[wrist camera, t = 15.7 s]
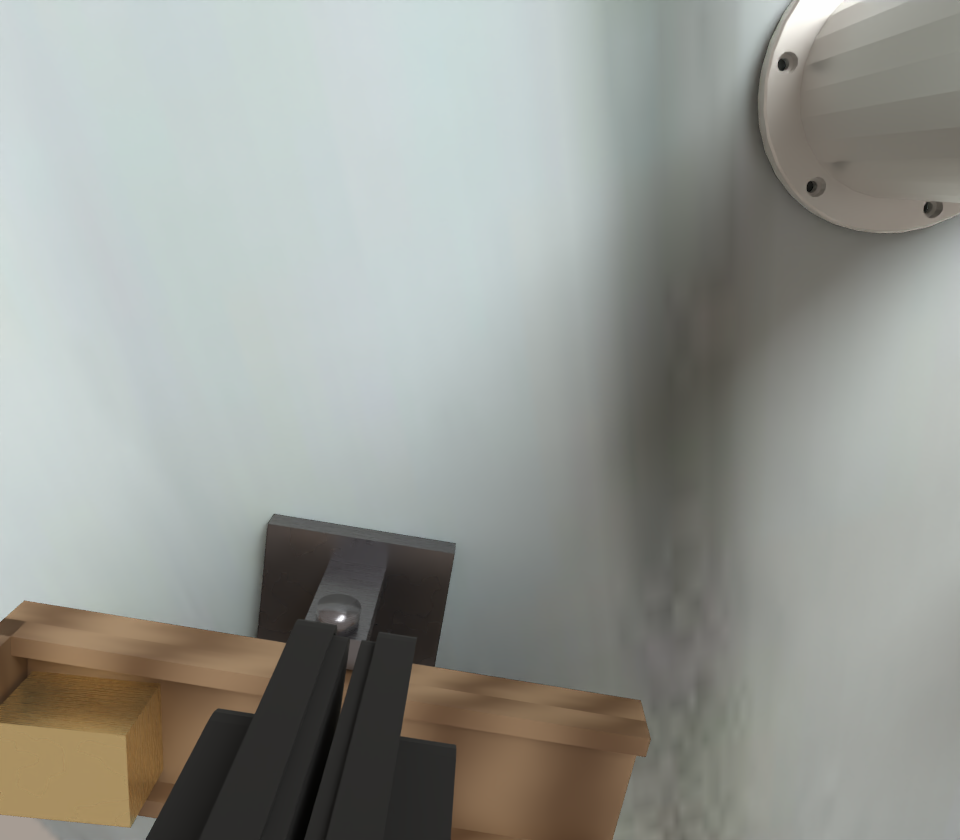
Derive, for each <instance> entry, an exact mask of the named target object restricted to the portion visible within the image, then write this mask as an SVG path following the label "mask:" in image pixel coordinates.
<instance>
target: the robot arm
mask: <svg viewBox="0 0 960 840" xmlns="http://www.w3.org/2000/svg"><path fill="white" fill-rule="evenodd" d="M780 59H782V60H784V61H785V63H786V67H785V69H784V70H783V71H780V70H779V69H778V61H779V60H780ZM758 117H759V129H760V133H761V137H762V141H763V145H764V149H765V153H766V155H767V157H768V159H769V161H770V164H771V166H772V168H773V170H774V172H775V174H776V176H777V178H778V179H779V180H780V182H781V183H782V184H783V185H784V187H785V188H786V189H787V191H788V192H789V193H790V195H791V196H792V197H793V198H794V199H796V200H797V201H798V202H799V203H800V204H801V205H803V206H804V207H805V208H806V209H807V210H808V211H810V212H811V213H813V214H815V215H817V216H819V217H820V218H822V219H824V220H826V221H828V222H830V223H832V224H835V225H838V226H842V227H845V228H849V229H852V230H856V231H865V232H871V233H903V232H908V231H912V230H917V229H922V228H927V227H930V226H933V225H935V224H938V223H940V222H943V221H945V220H948V219H950V218H952V217H955V216H957V215H958V214H960V0H793V1H792V2H791V4H790V5H789V6H788V8H787V9H786V11H785V12H784V14H783V16H782V18H781V20H780V22H779V24H778V26H777V28H776V30H775V32H774V34H773V36H772V38H771V40H770V42H769V46H768V49H767V52H766V56H765V59H764V62H763V65H762V69H761V75H760V83H759V91H758ZM809 181H811V182H812V183H813V184H814V186H813V189H812V191H810V192H807V191H806V188H807V184H808V182H809ZM926 203H927V205H928V206H927V210H926V211H925V212H923V209H924V205H925V204H926ZM416 640H417V637H410V636H404V635H398V634H391V633H385V632H379V633H378V636H377V640H376V642H373V641H367V640H362V641H361V644H360V647H359V650H358V654H357V657H356V661H355V664H354V668H353V671H352V675H351V678H350V682H349V685H348V689H347V692H346V696H345V699H344V703H343V706H342V710H341V705H342V697H343V690H344V683H345V675H346V668H347V661H348V653H349V646H350V638H348V637H341V636H337V625H334V624H328V623H322V622H315V621H309V620H303V619H298V620H297V621H296V623H295V625H294V627H293V629H292V631H291V634H290V636H289V638H288V640H287V643H286V645H285V647H284V649H283V652H282V654H281V656H280V658H279V661H278V663H277V665H276V667H275V669H274V672H273V674H272V676H271V678H270V681H269V683H268V685H267V687H266V690H265V692H264V694H263V696H262V699H261V701H260V703H259V705H258V708H257V710H256V712H255V714H253V713H246V712H240V711H233V710H227V709H220V708H218V709H216V710H215V711H214V712H213V714H212V715H211V717H210V718H209V720H208V722H207V724H206V726H205V727H204V729H203V731H202V733H201V735H200V737H199V739H198V741H197V743H196V745H195V747H194V748H193V750H192V752H191V754H190V756H189V758H188V760H187V762H186V764H185V766H184V768H183V769H182V771H181V773H180V775H179V777H178V779H177V781H176V783H175V785H174V787H173V789H172V790H171V792H170V794H169V796H168V798H167V800H166V802H165V804H164V806H163V808H162V810H161V811H160V813H159V815H158V817H157V819H156V821H155V823H154V825H153V827H152V829H151V831H150V832H149V834H148V836H147V838H146V840H451V827H452V812H453V797H454V782H455V768H456V745H455V744H448V743H442V742H435V741H429V740H422V739H416V738H409V737H403V736H400V735H401V730H402V724H403V718H404V712H405V706H406V700H407V694H408V688H409V682H410V676H411V670H412V664H413V658H414V652H415V646H416ZM340 712H341V713H340Z"/></svg>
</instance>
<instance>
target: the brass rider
mask: <svg viewBox="0 0 960 840" xmlns="http://www.w3.org/2000/svg"><path fill="white" fill-rule="evenodd" d="M162 771H163V745H162V716H161V688H160V684H158V683H148V682H138V681H128V680H118V679H108V678H98V677H88V676H78V675H68V674H58V673H49V672H39V671H32V673H31V674H30V675H29V676H28V677H27V678H26V679H25V680H24V681H23V682H22V683H21V684H20V685H19V686H18V687H17V688H16V690H15V691H14V692H13V693H12V694H11V695H10V696H9V697H8V698H7V699H6V700H5V701H4V702H3V703H2V704H1V705H0V815H11V816H20V817H30V818H40V819H50V820H60V821H70V822H80V823H90V824H100V825H110V826H120V827H130V828H131V826H132V824H133V822H134V820H135V819H136V817H137V815H138V813H139V812H140V810H141V808H142V806H143V805H144V803H145V801H146V799H147V798H148V796H149V794H150V792H151V791H152V789H153V787H154V785H155V784H156V782H157V780H158V778H159V776H160V775H161V773H162Z"/></svg>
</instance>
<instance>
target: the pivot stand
mask: <svg viewBox="0 0 960 840" xmlns="http://www.w3.org/2000/svg"><path fill="white" fill-rule="evenodd" d="M455 545H456V543H449V542H443V541H437V540H431V539H425V538H419V537H412V536H406V535H400V534H394V533H388V532H382V531H375V530H369V529H363V528H357V527H351V526H345V525H338V524H332V523H326V522H320V521H314V520H308V519H302V518H295V517H289V516H283V515H277V514H274V515H273V517H272V518H271V520H270V521H269V523H268V528H267V539H266V549H265V560H264V571H263V582H262V592H261V603H260V614H259V625H258V635H257V638H258V639H264V640H270V641H277V642H283V643H287V640H288V638H289V636H290V634H291V631H292V629H293V627H294V625H295V623H296V621H297V620H298V619H303V620H309V621H315V622H322V623H328V624H334V625H337V636H341V637H348V638H350V646H349V653H348V661H347V668H346V669H349V670H353V668H354V664H355V661H356V657H357V654H358V650H359V647H360V644H361V641H362V640H367V641H373V642H376V640H377V636H378V633H379V632H385V633H391V634H398V635H404V636H410V637H417V640H416V646H415V652H414V658H413V664H419V665H425V666H431V667H435V661H436V655H437V650H438V644H439V639H440V633H441V627H442V622H443V616H444V611H445V605H446V599H447V594H448V588H449V582H450V577H451V571H452V566H453V560H454V554H455Z"/></svg>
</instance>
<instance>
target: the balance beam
mask: <svg viewBox="0 0 960 840" xmlns="http://www.w3.org/2000/svg"><path fill="white" fill-rule="evenodd" d="M285 645H286V643H283V642H277V641H270V640H264V639H258V638H252V637H246V636H240V635H233V634H227V633H221V632H215V631H209V630H202V629H196V628H190V627H184V626H178V625H172V624H165V623H159V622H153V621H147V620H141V619H135V618H128V617H122V616H116V615H110V614H104V613H97V612H91V611H85V610H79V609H73V608H67V607H60V606H54V605H48V604H42V603H36V602H30V601H23V602H22V603H21V604H20V605H19V606H18V607H17V608H15V609H14V610H13V611H12V612H11V613H10V614H9V615H8V616H7V617H5V618H4V619H3V620H2V621H1V622H0V705H1V704H2V703H3V702H4V701H5V700H6V699H7V698H8V697H9V696H10V695H11V694H12V693H13V692H14V691H15V690H16V688H17V687H18V686H19V685H20V684H21V683H22V682H23V681H24V680H25V679H26V678H27V677H28V676H29V675H30V674H31V673H32V671H39V672H49V673H58V674H68V675H78V676H88V677H98V678H108V679H118V680H128V681H138V682H148V683H158V684H160V688H161V716H162V745H163V771H162V773H161V775H160V776H159V778H158V780H157V782H156V784H155V785H154V787H153V789H152V791H151V792H150V794H149V796H148V798H147V799H146V801H145V803H144V805H143V806H142V808H141V810H140V812H139V813H138V815H139V816H145V817H152V818H157V817H158V815H159V813H160V811H161V810H162V808H163V806H164V804H165V802H166V800H167V798H168V796H169V794H170V792H171V790H172V789H173V787H174V785H175V783H176V781H177V779H178V777H179V775H180V773H181V771H182V769H183V768H184V766H185V764H186V762H187V760H188V758H189V756H190V754H191V752H192V750H193V748H194V747H195V745H196V743H197V741H198V739H199V737H200V735H201V733H202V731H203V729H204V727H205V726H206V724H207V722H208V720H209V718H210V717H211V715H212V714H213V712H214V711H215V710H216V709H218V708H220V709H227V710H233V711H240V712H246V713H253V714H255V712H256V710H257V708H258V705H259V703H260V701H261V699H262V696H263V694H264V692H265V690H266V687H267V685H268V683H269V681H270V678H271V676H272V674H273V672H274V669H275V667H276V665H277V663H278V661H279V658H280V656H281V654H282V652H283V649H284V647H285ZM352 671H353V670H349V669H346V675H345V683H344V690H343V697H342V705H341V710H342V706H343V703H344V699H345V696H346V692H347V689H348V685H349V682H350V678H351V675H352ZM340 713H341V712H340ZM400 736H403V737H409V738H416V739H422V740H429V741H435V742H442V743H448V744H455V745H456V768H455V782H454V797H453V812H452V827H451V840H612V839H613V835H614V832H615V828H616V825H617V821H618V818H619V814H620V811H621V807H622V804H623V800H624V797H625V793H626V790H627V786H628V783H629V779H630V776H631V772H632V769H633V765H634V762H635V758H636V756H642V757H646V754H647V751H648V747H649V744H650V740H651V738H650V734H649V730H648V727H647V723H646V719H645V715H644V711H643V708H642V704H641V700H635V699H629V698H623V697H616V696H610V695H604V694H598V693H592V692H585V691H579V690H573V689H567V688H561V687H555V686H548V685H542V684H536V683H530V682H524V681H518V680H511V679H505V678H499V677H493V676H487V675H480V674H474V673H468V672H462V671H456V670H450V669H443V668H437V667H431V666H425V665H419V664H412V670H411V676H410V682H409V688H408V694H407V700H406V706H405V712H404V718H403V724H402V730H401V735H400Z"/></svg>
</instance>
